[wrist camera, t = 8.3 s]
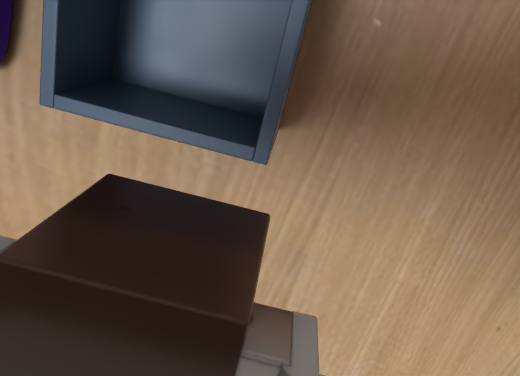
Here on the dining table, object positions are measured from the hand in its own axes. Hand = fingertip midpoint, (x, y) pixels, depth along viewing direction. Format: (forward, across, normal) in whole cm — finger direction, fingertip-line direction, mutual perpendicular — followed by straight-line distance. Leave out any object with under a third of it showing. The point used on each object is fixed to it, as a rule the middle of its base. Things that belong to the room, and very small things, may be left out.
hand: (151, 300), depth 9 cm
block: (+2, 0, 0) cm, 2 cm away
